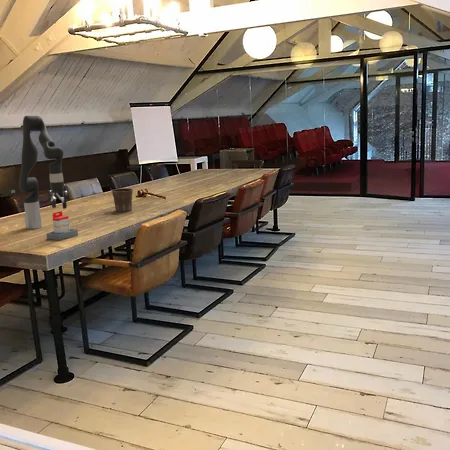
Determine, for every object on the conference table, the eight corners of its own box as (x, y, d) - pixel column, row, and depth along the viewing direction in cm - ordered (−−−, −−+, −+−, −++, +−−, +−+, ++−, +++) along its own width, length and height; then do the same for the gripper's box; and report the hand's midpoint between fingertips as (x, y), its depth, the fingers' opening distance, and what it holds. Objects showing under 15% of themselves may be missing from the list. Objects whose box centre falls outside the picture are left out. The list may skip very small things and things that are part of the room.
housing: (46, 239, 290) (46, 233, 289) (65, 233, 302) (64, 228, 301) (59, 240, 285) (59, 234, 284) (78, 235, 297) (77, 229, 297)
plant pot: (137, 211, 371) (135, 190, 367) (115, 213, 364) (114, 192, 361) (131, 207, 385) (129, 187, 382) (111, 210, 379) (109, 189, 375)
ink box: (60, 237, 289) (58, 213, 286) (54, 237, 291) (51, 213, 288) (70, 234, 297) (68, 210, 294) (64, 234, 299) (61, 210, 295)
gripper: (70, 180, 286) (73, 207, 290) (52, 179, 293) (55, 206, 296) (60, 182, 280) (63, 210, 283) (42, 181, 286) (45, 208, 290)
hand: (59, 208), depth 290 cm, fingers open, 8 cm apart
